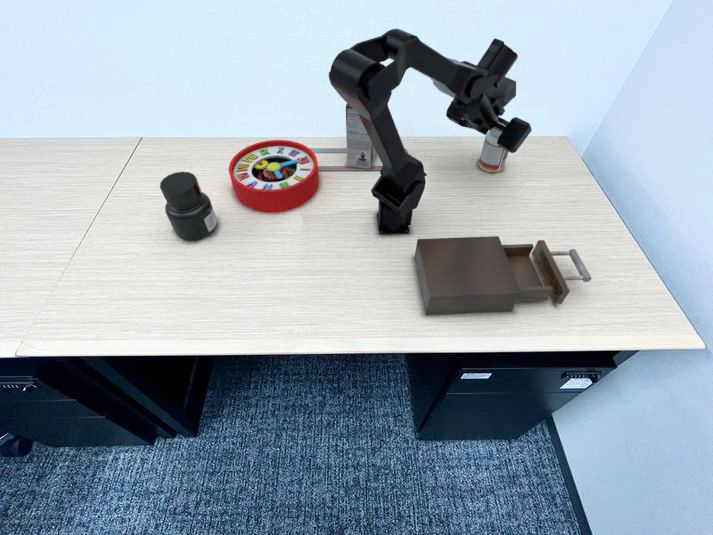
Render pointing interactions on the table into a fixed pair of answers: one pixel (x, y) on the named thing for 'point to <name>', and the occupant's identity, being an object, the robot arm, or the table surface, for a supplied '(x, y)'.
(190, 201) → the ink bottle
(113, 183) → the table surface
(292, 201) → the toy clock
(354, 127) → the coffee box
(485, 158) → the pill bottle
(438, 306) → the cabinet
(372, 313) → the table surface
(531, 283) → the drawer
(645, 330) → the table surface
